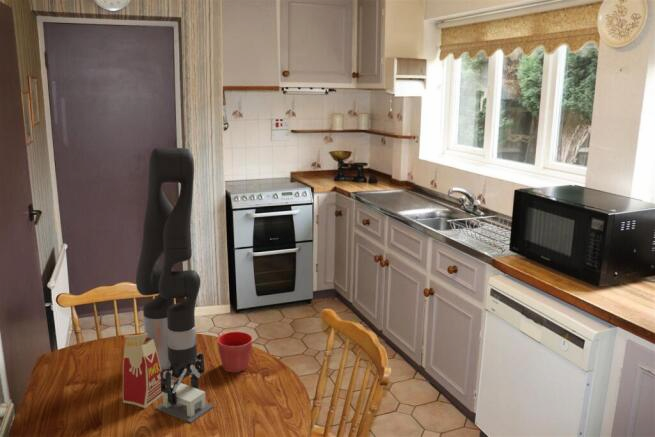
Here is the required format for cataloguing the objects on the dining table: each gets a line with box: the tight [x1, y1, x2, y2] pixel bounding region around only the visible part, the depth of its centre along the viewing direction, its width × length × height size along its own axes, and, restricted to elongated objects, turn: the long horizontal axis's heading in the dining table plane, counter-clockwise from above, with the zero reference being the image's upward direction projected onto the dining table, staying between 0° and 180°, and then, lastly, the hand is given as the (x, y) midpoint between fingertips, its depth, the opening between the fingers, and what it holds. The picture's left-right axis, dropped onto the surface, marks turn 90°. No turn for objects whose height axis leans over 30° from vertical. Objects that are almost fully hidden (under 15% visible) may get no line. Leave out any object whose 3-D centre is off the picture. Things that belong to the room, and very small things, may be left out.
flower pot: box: [216, 331, 254, 373], centre depth 181 cm, size 11×11×10 cm
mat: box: [154, 402, 215, 424], centre depth 158 cm, size 13×9×1 cm
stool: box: [162, 382, 207, 417], centre depth 158 cm, size 5×6×10 cm
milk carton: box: [122, 333, 163, 409], centre depth 161 cm, size 9×9×20 cm
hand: (184, 396), depth 158 cm, fingers open, 8 cm apart
